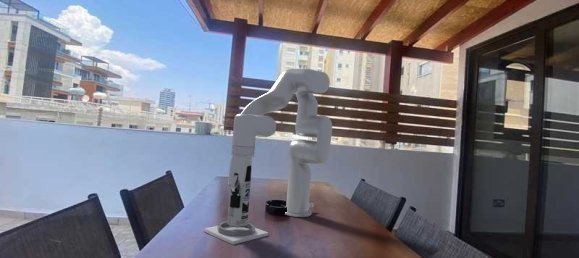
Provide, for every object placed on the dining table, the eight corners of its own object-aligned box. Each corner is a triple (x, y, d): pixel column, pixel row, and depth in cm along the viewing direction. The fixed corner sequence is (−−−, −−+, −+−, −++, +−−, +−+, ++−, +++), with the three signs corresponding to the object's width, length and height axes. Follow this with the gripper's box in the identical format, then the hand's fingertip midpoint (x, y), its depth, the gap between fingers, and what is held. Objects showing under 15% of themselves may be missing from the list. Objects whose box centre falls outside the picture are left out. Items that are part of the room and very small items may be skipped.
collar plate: (238, 224, 126) (238, 217, 126) (267, 235, 116) (268, 228, 116) (203, 231, 114) (204, 223, 114) (233, 244, 104) (233, 236, 104)
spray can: (243, 229, 111) (248, 166, 111) (223, 226, 113) (228, 164, 112) (249, 223, 118) (254, 164, 118) (231, 220, 119) (235, 162, 119)
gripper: (240, 149, 124) (236, 198, 124) (222, 151, 107) (217, 209, 107) (260, 151, 123) (256, 201, 123) (245, 154, 106) (241, 212, 106)
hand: (238, 204), depth 115 cm, fingers closed on spray can, 6 cm apart
